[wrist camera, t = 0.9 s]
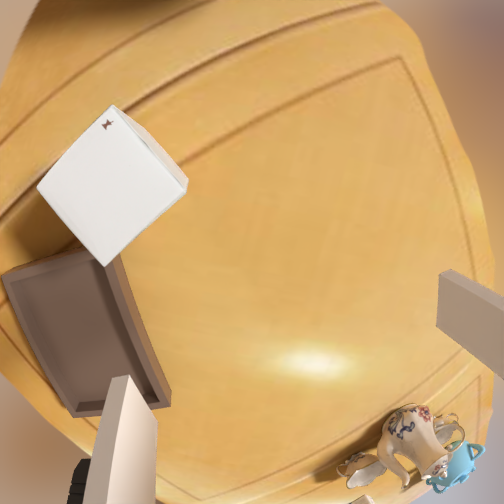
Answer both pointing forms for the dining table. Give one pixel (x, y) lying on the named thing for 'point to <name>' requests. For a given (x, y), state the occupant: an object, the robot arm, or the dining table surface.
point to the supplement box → (112, 184)
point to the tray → (85, 329)
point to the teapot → (458, 466)
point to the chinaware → (406, 447)
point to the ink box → (364, 500)
